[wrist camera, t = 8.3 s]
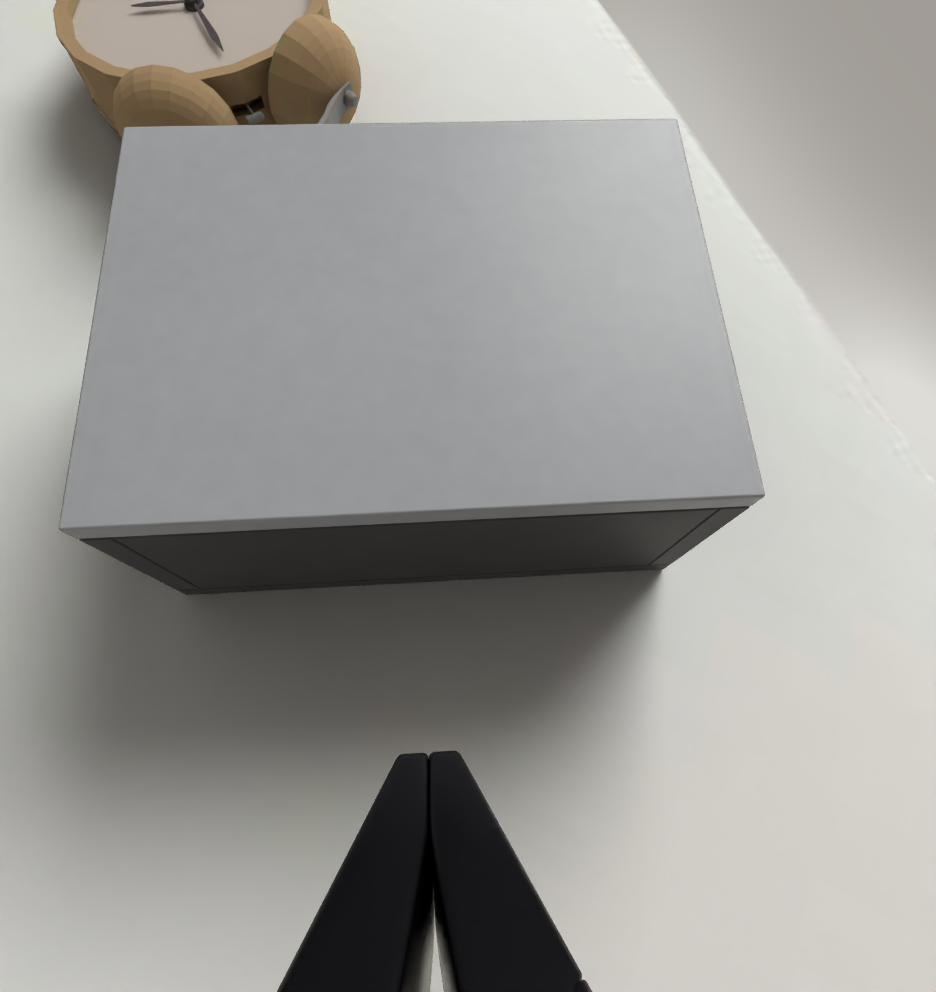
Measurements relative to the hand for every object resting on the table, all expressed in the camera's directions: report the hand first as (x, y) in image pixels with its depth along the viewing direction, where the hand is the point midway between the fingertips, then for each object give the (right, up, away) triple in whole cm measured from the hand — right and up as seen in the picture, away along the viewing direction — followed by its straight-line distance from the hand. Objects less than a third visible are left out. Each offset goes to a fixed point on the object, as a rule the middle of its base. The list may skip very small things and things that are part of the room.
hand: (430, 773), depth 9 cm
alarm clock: (-10, +22, +21) cm, 32 cm away
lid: (-1, +9, +9) cm, 13 cm away
